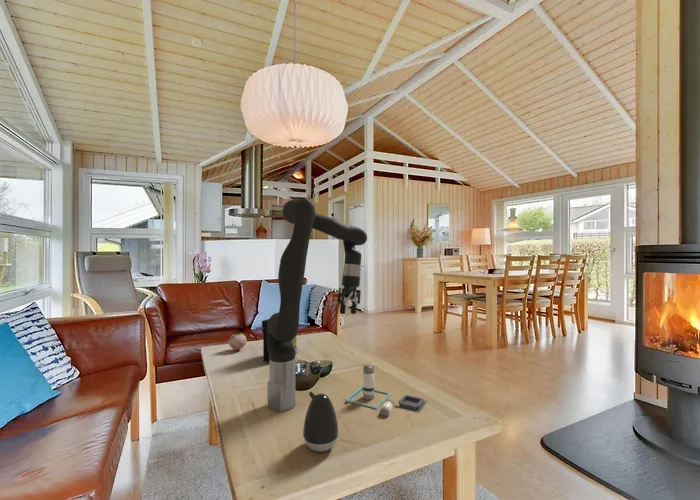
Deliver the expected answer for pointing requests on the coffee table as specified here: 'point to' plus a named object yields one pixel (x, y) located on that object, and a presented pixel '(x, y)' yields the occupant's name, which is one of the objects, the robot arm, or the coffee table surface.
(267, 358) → the electrical component
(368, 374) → the fuse
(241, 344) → the decorative fruit
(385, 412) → the cylinder
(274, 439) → the coffee table surface
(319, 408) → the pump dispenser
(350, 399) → the teal square frame
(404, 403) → the holder block
